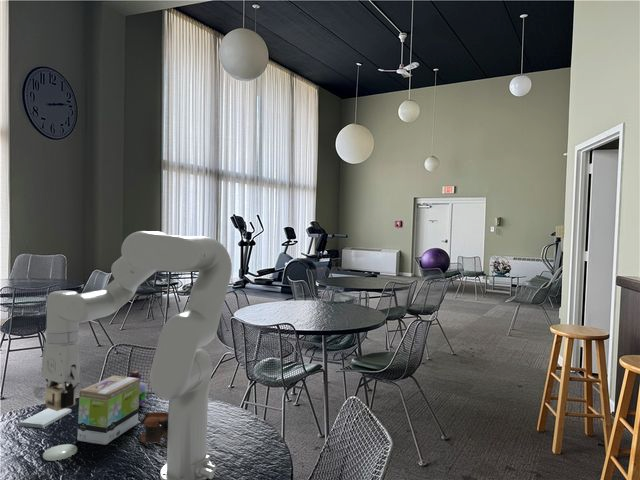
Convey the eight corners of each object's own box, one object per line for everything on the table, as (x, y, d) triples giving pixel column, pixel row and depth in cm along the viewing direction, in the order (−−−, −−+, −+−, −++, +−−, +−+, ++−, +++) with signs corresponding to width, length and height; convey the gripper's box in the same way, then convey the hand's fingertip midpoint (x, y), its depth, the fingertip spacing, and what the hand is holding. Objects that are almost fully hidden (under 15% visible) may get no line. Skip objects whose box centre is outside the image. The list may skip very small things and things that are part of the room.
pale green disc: (83, 450, 122) (83, 449, 122) (54, 463, 114) (54, 462, 114) (65, 443, 125) (65, 441, 125) (36, 455, 118) (36, 453, 118)
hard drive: (43, 424, 134) (71, 408, 147) (18, 422, 135) (49, 406, 148) (42, 430, 134) (71, 413, 147) (18, 427, 135) (49, 411, 148)
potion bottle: (143, 410, 149) (144, 375, 149) (116, 411, 148) (117, 375, 148) (150, 400, 158) (150, 367, 157) (124, 401, 157) (125, 367, 156)
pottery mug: (130, 443, 127) (134, 413, 132) (152, 445, 135) (156, 416, 139) (164, 440, 124) (167, 409, 128) (185, 442, 132) (188, 412, 136)
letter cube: (56, 411, 116) (57, 391, 116) (45, 407, 119) (45, 388, 118) (75, 404, 121) (75, 386, 121) (63, 400, 123) (64, 382, 123)
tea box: (107, 445, 125) (108, 393, 125) (76, 441, 127) (77, 390, 126) (139, 423, 140) (140, 376, 139) (111, 419, 142) (112, 373, 141)
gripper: (29, 335, 120) (27, 401, 120) (68, 344, 112) (66, 416, 112) (57, 330, 127) (55, 393, 127) (95, 339, 119) (93, 406, 119)
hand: (60, 403), depth 120 cm, fingers closed on letter cube, 5 cm apart
